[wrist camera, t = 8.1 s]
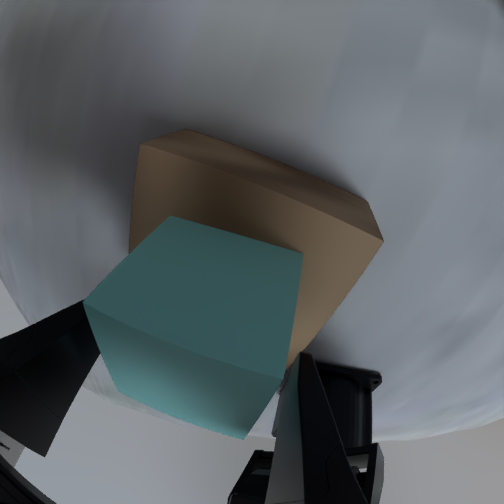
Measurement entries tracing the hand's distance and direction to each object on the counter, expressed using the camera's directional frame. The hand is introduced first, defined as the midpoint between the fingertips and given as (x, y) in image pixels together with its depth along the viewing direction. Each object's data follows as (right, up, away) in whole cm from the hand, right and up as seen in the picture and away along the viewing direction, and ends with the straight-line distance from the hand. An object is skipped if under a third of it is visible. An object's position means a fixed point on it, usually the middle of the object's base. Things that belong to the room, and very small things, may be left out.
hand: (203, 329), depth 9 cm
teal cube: (+1, +1, +2) cm, 2 cm away
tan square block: (+1, +3, +5) cm, 6 cm away
